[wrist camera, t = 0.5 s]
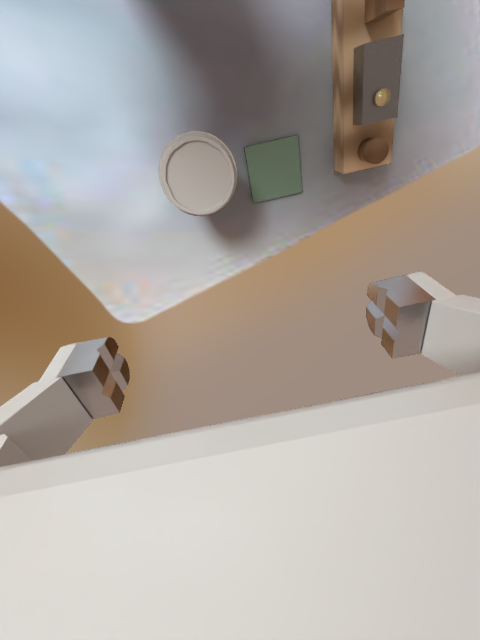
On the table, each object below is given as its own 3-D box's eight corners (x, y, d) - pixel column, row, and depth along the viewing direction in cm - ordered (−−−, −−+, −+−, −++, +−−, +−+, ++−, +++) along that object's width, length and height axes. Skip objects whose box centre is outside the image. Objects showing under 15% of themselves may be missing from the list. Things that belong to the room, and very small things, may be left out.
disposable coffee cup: (169, 121, 43) (158, 123, 33) (236, 135, 45) (245, 140, 35) (166, 192, 48) (156, 212, 38) (226, 202, 50) (231, 224, 40)
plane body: (331, -7, 37) (362, -39, 30) (388, -22, 37) (434, -57, 30) (334, 174, 49) (357, 184, 41) (378, 164, 48) (409, 172, 41)
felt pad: (244, 147, 45) (244, 147, 45) (297, 134, 45) (298, 135, 45) (253, 202, 50) (253, 203, 49) (301, 191, 50) (302, 191, 49)
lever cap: (353, 48, 37) (366, 42, 34) (390, 39, 37) (406, 32, 34) (352, 124, 42) (364, 125, 39) (385, 117, 42) (399, 117, 39)
